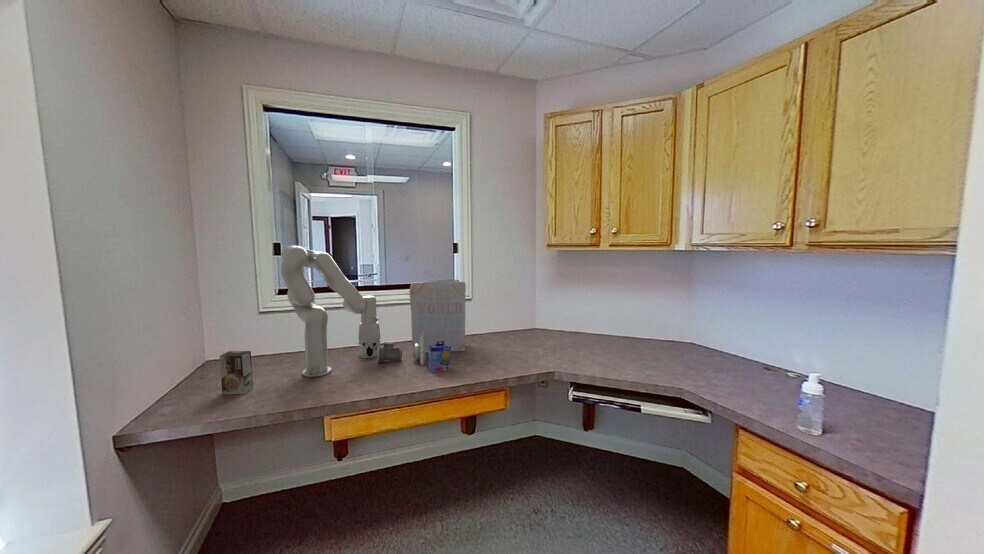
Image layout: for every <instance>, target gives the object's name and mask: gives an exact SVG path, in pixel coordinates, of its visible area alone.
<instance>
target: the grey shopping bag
mask: <svg viewBox="0 0 984 554" xmlns="http://www.w3.org/2000/svg"><path fill="white" fill-rule="evenodd" d="M466 288H467V285H466V282H465V281H460V279H446V280H445V279H443V280H441V279H439V280H431V281H420V282H419V281H415V282H412V283H411V284H410V287H409V307H410V319H411V320H410V321H411V323H410V324H411V325H410V326H411V336H412V337H411V338H412V350H411V354H414V344H415V343H420V336H421V334H422V331H425V344H426V353H429V345H433V344H437V342H439V341H444V344H445V343H448V344H449V345H450V346H451V352H457V351H458V352H459V351H466V348H465V344H466V343H465V342H466V291H467V290H466ZM440 343H442V342H440ZM440 343H438V344H440Z"/></svg>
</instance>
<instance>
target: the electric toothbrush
mask: <svg viewBox="0 0 984 554" xmlns="http://www.w3.org/2000/svg"><path fill="white" fill-rule="evenodd" d="M370 345H371V343H369V347H370ZM358 351H359V352H358V353H359V355H358V356H359V357H360V358H363V359H371V358H376V357H378V351H379V344H378V345H375V346H374V347H373V354H372V355H371V356H368V354H366V348H365V347H364V346H363V345H359V349H358Z"/></svg>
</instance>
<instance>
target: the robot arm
mask: <svg viewBox="0 0 984 554" xmlns="http://www.w3.org/2000/svg"><path fill="white" fill-rule="evenodd" d="M281 259H282V263H281V268H280V273H281V277H282V280H283V282H284V284H285V285H286V286H285V287H286V288H287V289H288V290H287V293H286V294H287V299H288V301H289V303H290V305H291V306H292V308H293V310H294V312H295V313H296V315H297V316H298V318H299V319H300V321H301V322H303V323H304V325H305V326H304V336H303V337H304V339H303V340H304V356H305V357H304V359H305V369H303V370H302V372H301V375H302V376H304V377H307V378H313V377H314V378H315V377H323V376H326V375H328V374H331V372H332V370H333V369H332V367H331V366H329V362H328V361H329V360H328V357H329V356H328V352H329V351H328V322H329V316H328V313H327V310H326V309H325V308H323V307H322V306H320V305H317V304H316V302H315V299H316V298H315V297H316V296H315V292H314V290H313V288H312V287H311V285H310V283H309V281H308V279H307V278H306V274H305V272H304V268H308V269H315V270H316V271H317V272H318V273H319V275H320V276H321V277H322V279H323V281H324V282H325V283H326V284H327V286H328V287H329V289H331V290H332V291H334V292H335V293H337V295H339V296H340V297H341V298H342V299H343V302H342V306H343V308H344V309H345V311H347V312H350V313H353V314H356V315H360V323H359V326H358V345H359V346H360V345H361V346H364V347H365V348H366V354H368V356H371V355H372V354H373V347H374V346H375V345H378V346H379V345H380V344H381V329H380V323H379V321H380V320H381V319H380V317H378V316H377V297H376V296H374V295H363V296H362V295H361V293H360V292H359V290H358V289H357V288H356V287H355V285H353V284H352V282H351V281H350V280H349V279H348V278H347V277H346V276H345V274H344V272H342V269H340V267H339V266H338V264H337V263H336V262H335V260H334V259H333V258H332V256H331V255H330V254H329V253H328V252H325V251H318V250H317V251H316V250H311V249H308V248H304V247H303V246H301V245H288V246H286V247H284V248H283V249H282V251H281ZM369 343H371V345H370V347H369Z"/></svg>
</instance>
